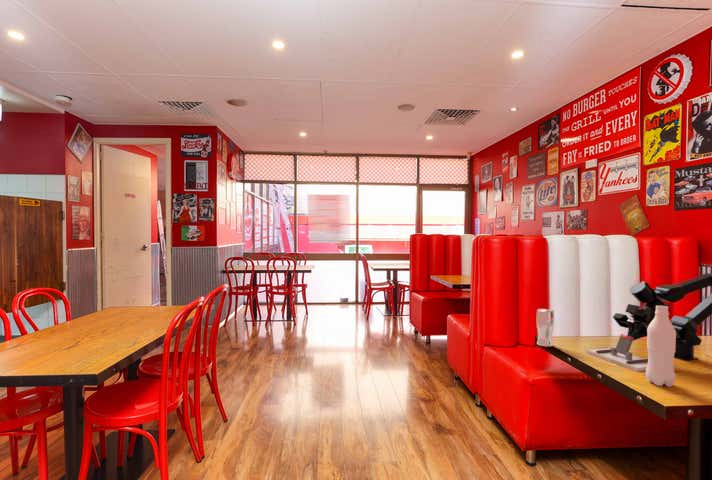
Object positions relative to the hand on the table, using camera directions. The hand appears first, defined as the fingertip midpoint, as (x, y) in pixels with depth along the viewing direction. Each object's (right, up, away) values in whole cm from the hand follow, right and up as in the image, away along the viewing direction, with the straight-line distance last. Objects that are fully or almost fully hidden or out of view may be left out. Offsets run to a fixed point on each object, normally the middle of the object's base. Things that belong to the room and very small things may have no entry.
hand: (628, 341), depth 137 cm
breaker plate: (-3, -7, -1) cm, 8 cm away
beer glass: (-23, -7, +18) cm, 30 cm away
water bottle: (-7, -8, -22) cm, 25 cm away
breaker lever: (-3, -4, -1) cm, 5 cm away
